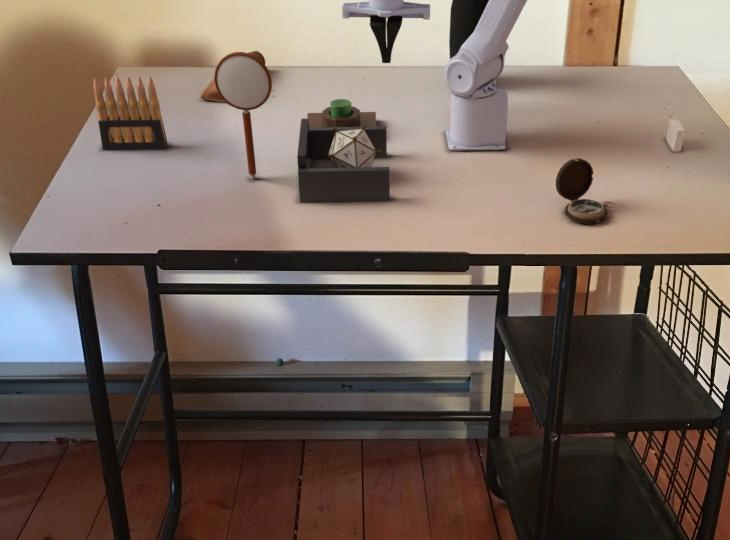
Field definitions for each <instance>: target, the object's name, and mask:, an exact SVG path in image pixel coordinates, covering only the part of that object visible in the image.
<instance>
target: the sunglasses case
mask: <svg viewBox="0 0 730 540" xmlns="http://www.w3.org/2000/svg"><path fill="white" fill-rule="evenodd" d="M248 53H249V54H251V55H253V56H255V57H257V58H258V59H260V60H261V61H262V62H263V63H264V64H265V65H266V59H265V57H264V55H263V54H262V53H261V52H260V51H258V50H254V51H249V52H248ZM199 97H200V99H202V100H204V101H205V100H206V101H210V102H215V103H222V104H223V103H224V104H227V103H226V102H225V101H224V100H223V99H222V97H221V96H220V94H219V93H218V91H217V89H216V85H215V79H214V77H213V79H212V80H210V82H209V83H208V84H207V86H206V87H205V88H204V89H203V90H202V92H201V93H200V96H199Z"/></svg>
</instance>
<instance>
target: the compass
mask: <svg viewBox="0 0 730 540" xmlns="http://www.w3.org/2000/svg"><path fill="white" fill-rule="evenodd" d="M593 175H594V169H593V167H592V165H591V163H589V162H588V161H587V160H586V159H583V158H579V157H574V158H571V159H569V160H568V161H566V162H564V164H563V165H562V166H561V167H560V168H559V170H558V172H557V174H556V178H555V190H556V192H557V193H558V195H559V196H560V197H561V198H563V199H565V200H569V201H570V202H569V203H567V204H566V205H565V207H564V215H565V216H566V217H567V219H569V220H570V221H573V222H574V223H578V224H583V225H593V224H598V223H601V222H603V221H604V220H605V219H606V218H607V217H608V210H607V209H613V208H615V207H616V203H615V202H613V201H604V202H603V203H601V202H599V201H597V200H594V199H587V198H582V197H583V196H584V195H585V194H586V193H587V192H588V191H589V189H590V188H591V186H592V183H593V182H594V181H593V180H594V178H593ZM608 203H609V204H612V205H613V206H609V205H608Z"/></svg>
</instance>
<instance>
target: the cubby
mask: <svg viewBox="0 0 730 540" xmlns="http://www.w3.org/2000/svg"><path fill="white" fill-rule="evenodd" d="M335 128H336V129H337V131H342V130H352V129H362V128H363V127H335ZM365 131H366V133H367V135H368V137H369V138H370V140H371V142H372V144H373V145H374V147H375V149H376V150H381V152H380V153H376V155H375V158H374V159H386V158H387V155H388V152H387V151H388V147H387V144H388V143H387V142H388V141H387V140H388V139H387V138H388V137H387V136H388V135H387V133H388V132H387V126H386V125H383V126H380V125H379V126H376V127H366V128H365ZM334 135H335V131H334V130H333V127H319V128H309V119H307V118H301V119H300V127H299V137H298V145H297V146H298V147H297V179H298V193H299V203H329V202H330V203H332V202H383V201H384V202H385V201H391V199H390V197H391V194H390V193H391V192H390V191H391V190H390V188H391V187H390V185H391V184H390V183H391V181H390V179H391V178H390V175H391V172H390V171H391V170H390V166H371V167H355V168H335V167H311V165H312V160H322V159H323V160H330V158H329V157H328V156H326V157H325V156H324V154H325V153H328V152H329V149H330V147H331V144H332V141H333V138H334Z"/></svg>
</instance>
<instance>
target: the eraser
mask: <svg viewBox="0 0 730 540" xmlns="http://www.w3.org/2000/svg"><path fill="white" fill-rule="evenodd" d="M685 131H686V130H685V129H684V127H683V126H682V124H681V123H680V121H679V120H678V118H670V119H669V123H668V127H667V132H666V138H665V140H666V142H667V144H668V145H669V147H670V149H671V150H672V152H674V153H675V152H677V153H678V152H681V151H682V146H683V143H684V138H685Z"/></svg>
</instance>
